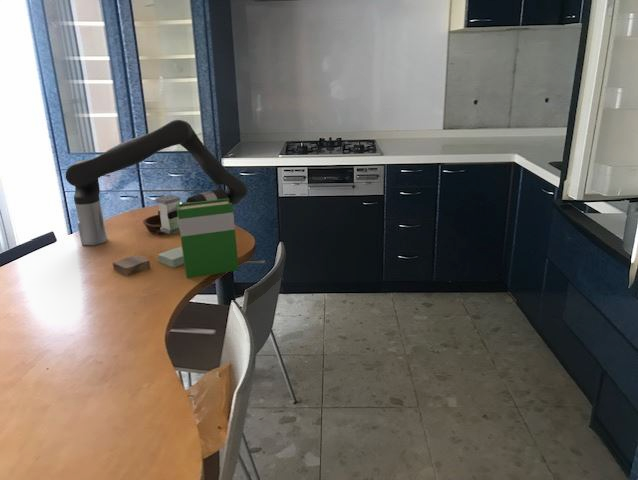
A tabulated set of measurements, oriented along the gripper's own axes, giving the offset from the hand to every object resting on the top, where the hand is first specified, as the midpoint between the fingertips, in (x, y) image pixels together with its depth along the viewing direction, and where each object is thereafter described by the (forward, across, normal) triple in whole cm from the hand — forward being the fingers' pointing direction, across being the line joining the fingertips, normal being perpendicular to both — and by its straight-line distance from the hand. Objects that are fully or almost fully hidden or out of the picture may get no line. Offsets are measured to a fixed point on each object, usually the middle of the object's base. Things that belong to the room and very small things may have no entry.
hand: (163, 214), depth 178 cm
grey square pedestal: (-3, 0, +6) cm, 7 cm away
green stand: (-2, 0, +18) cm, 18 cm away
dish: (-21, -35, +19) cm, 45 cm away
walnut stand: (+12, -7, +18) cm, 23 cm away
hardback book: (-5, +18, +19) cm, 26 cm away
